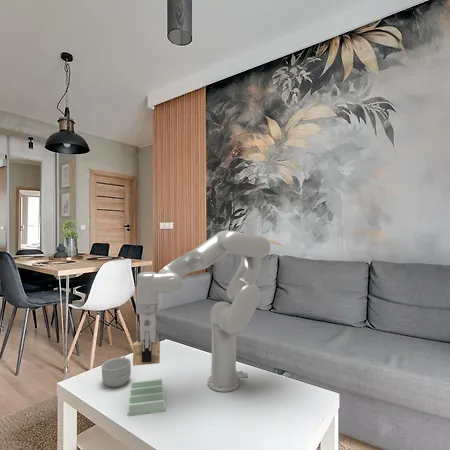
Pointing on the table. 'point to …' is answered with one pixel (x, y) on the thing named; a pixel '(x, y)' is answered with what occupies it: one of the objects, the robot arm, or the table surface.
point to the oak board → (138, 353)
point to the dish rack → (146, 397)
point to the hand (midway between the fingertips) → (146, 359)
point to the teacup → (116, 371)
